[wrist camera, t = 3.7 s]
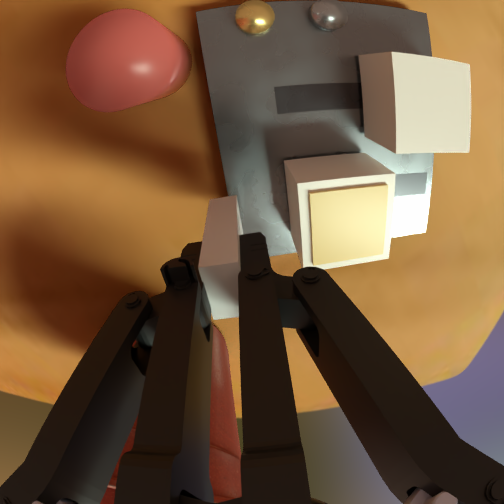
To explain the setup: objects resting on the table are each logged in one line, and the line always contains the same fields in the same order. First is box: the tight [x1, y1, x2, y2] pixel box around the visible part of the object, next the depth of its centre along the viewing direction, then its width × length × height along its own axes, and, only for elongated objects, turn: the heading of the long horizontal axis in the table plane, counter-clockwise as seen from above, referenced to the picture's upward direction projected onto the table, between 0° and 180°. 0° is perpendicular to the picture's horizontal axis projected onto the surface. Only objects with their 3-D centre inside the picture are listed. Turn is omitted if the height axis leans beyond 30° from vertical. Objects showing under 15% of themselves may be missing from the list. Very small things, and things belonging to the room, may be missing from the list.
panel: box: [196, 0, 434, 256], centre depth 16 cm, size 14×16×2 cm
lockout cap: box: [66, 9, 192, 112], centre depth 12 cm, size 4×4×7 cm
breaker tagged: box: [284, 153, 396, 269], centre depth 16 cm, size 5×5×4 cm
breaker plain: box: [358, 52, 471, 154], centre depth 13 cm, size 5×5×4 cm
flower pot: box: [100, 324, 242, 504], centre depth 20 cm, size 16×16×16 cm
